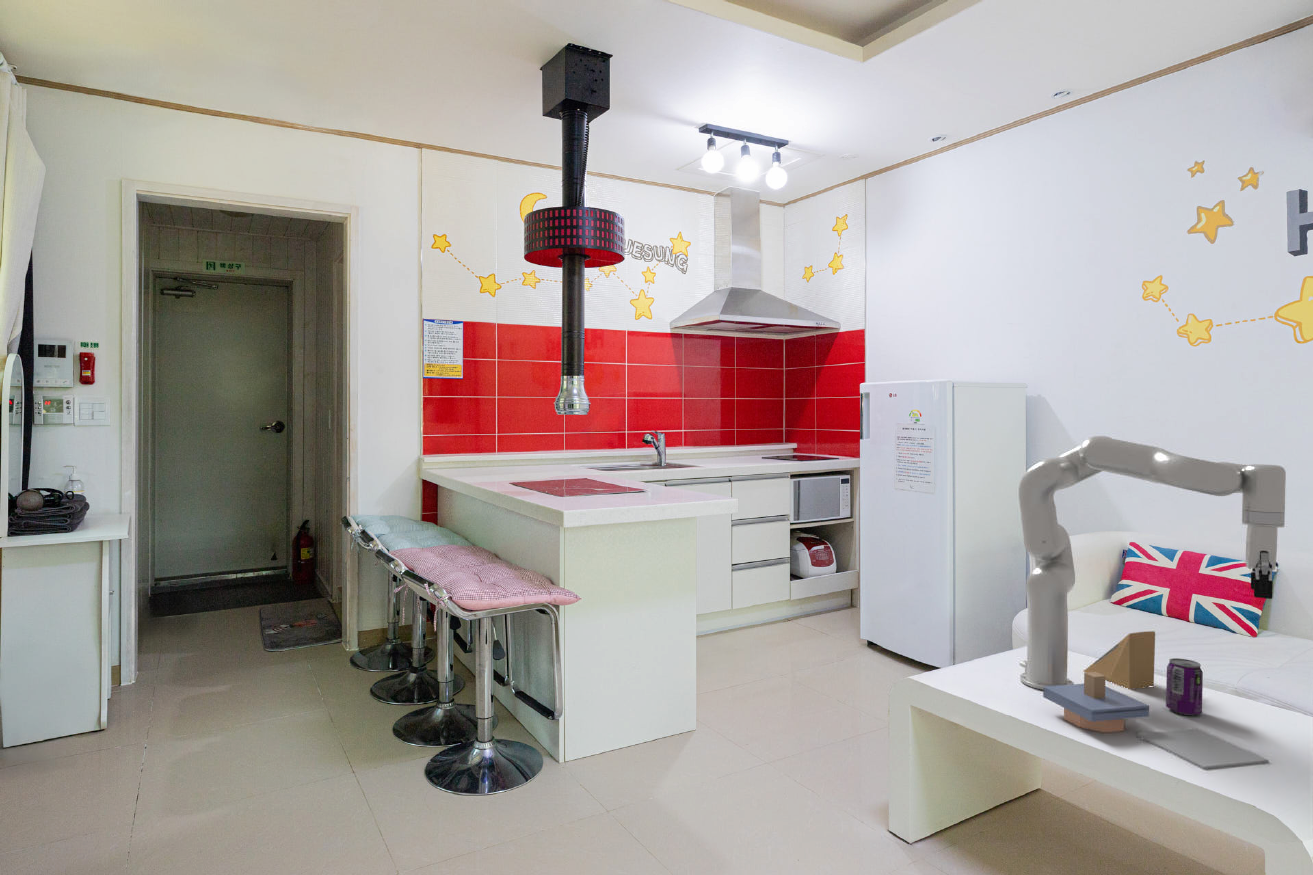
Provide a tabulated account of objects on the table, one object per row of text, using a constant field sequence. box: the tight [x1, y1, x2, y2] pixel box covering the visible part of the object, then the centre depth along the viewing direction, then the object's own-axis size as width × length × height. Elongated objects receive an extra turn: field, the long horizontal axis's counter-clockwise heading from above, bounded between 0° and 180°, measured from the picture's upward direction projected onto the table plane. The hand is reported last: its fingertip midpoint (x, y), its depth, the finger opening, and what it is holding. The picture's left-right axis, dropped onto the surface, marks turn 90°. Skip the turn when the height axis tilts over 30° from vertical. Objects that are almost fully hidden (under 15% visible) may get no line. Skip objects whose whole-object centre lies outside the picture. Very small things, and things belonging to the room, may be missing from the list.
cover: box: [1042, 672, 1150, 722], centre depth 173 cm, size 15×15×8 cm
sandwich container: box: [1083, 630, 1156, 690], centre depth 203 cm, size 9×15×15 cm, turn 15°
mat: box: [1136, 728, 1270, 770], centre depth 159 cm, size 16×16×1 cm
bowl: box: [1063, 707, 1125, 733], centre depth 174 cm, size 12×12×5 cm
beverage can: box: [1165, 657, 1204, 717], centre depth 180 cm, size 7×7×12 cm
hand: (1261, 593), depth 170 cm, fingers open, 9 cm apart
